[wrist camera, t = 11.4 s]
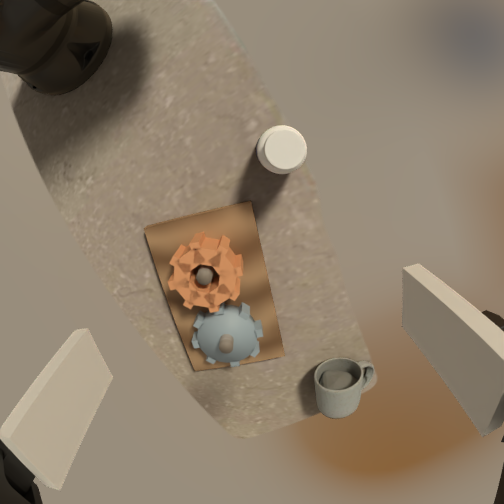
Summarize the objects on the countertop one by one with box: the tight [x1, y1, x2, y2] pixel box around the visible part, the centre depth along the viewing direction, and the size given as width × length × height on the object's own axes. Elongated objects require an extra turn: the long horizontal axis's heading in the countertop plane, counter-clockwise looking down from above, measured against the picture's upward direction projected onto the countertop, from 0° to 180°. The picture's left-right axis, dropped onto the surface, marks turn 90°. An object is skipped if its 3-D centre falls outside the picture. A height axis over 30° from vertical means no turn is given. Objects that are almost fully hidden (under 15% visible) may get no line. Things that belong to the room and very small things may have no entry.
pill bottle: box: [256, 125, 307, 174], centre depth 32 cm, size 5×5×9 cm
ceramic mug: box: [314, 357, 374, 419], centre depth 44 cm, size 11×8×8 cm
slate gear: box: [192, 302, 263, 367], centre depth 41 cm, size 10×10×2 cm
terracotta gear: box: [168, 232, 243, 313], centre depth 37 cm, size 9×9×4 cm
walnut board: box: [144, 201, 285, 371], centre depth 39 cm, size 23×14×6 cm, turn 13°
